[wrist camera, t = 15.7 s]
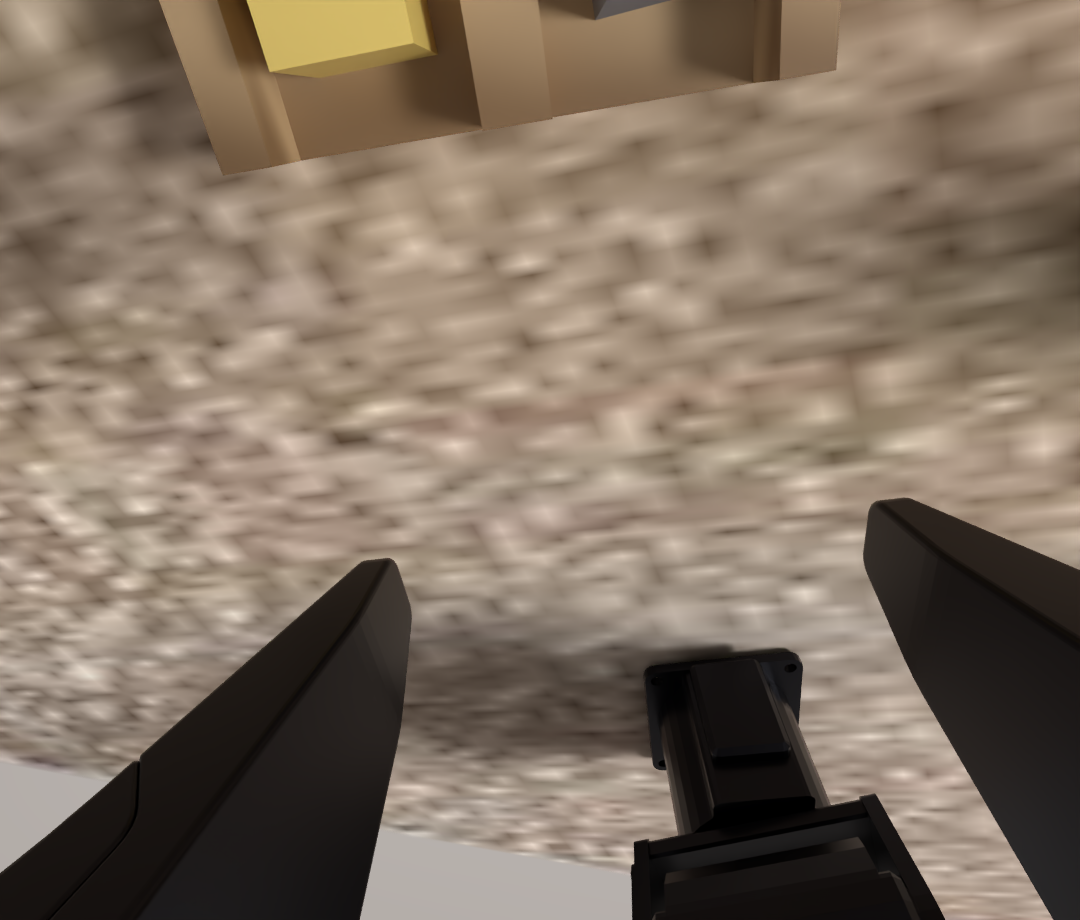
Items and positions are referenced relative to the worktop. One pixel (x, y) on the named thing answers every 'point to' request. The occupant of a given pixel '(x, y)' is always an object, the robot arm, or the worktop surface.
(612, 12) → the tall grey block
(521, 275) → the worktop surface
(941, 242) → the worktop surface
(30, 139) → the worktop surface
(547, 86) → the slot board
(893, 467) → the worktop surface
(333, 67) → the yellow rectangular block
